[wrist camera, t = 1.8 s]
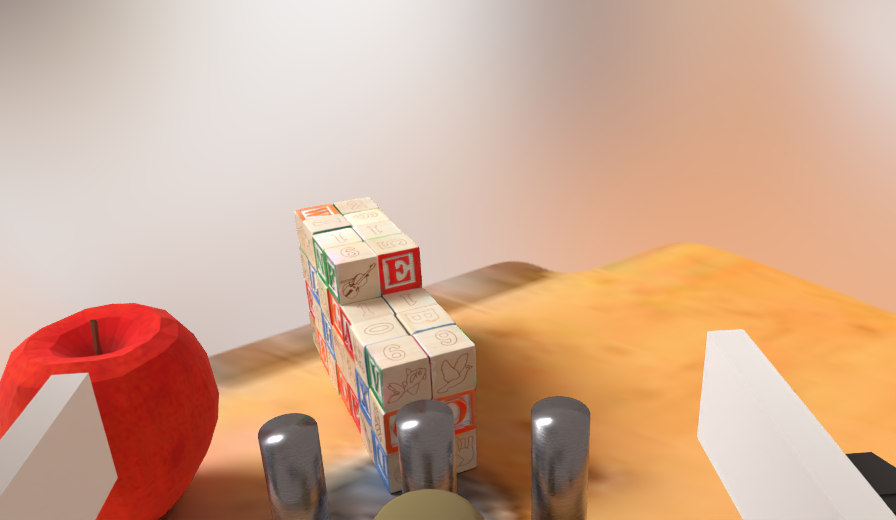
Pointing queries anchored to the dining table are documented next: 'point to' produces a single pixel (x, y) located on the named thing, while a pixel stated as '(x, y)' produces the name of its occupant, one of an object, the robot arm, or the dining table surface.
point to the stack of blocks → (383, 329)
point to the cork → (429, 507)
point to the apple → (128, 397)
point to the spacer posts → (432, 458)
